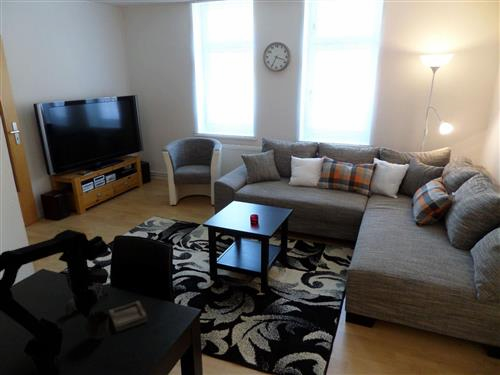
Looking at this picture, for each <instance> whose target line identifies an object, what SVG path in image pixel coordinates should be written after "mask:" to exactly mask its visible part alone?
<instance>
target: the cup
mask: <svg viewBox="0 0 500 375" xmlns="http://www.w3.org/2000/svg"><path fill="white" fill-rule="evenodd" d="M109 316H110V314H109V312H106V313H105V311H104V310H103V311H102V310H99V311H96V310H95V311H94V313H92V312H90V315H89V317H85V319H84V322H83V323H84V324H85V327H86V331H87V334H88V335H89V336H91V337H92V338H93V339H94V340H95V341H100V340H102V339H103V338H105V335H106V333H107V331H108V328H109Z"/></svg>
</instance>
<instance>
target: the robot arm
mask: <svg viewBox="0 0 500 375" xmlns="http://www.w3.org/2000/svg"><path fill="white" fill-rule="evenodd" d="M108 251H109V246H108V245H107V243H106V241H105V240H103V236H100V235H96V236H94V237H93V238H91V239H88V236H87V235H86V233H85V232H82V231H77V230H72V229H65V230H63V231H61V232H58V233H57V234H56V235H55V236H54V237H52V238H51V239H47V240H43V241H39V242H35V243H33V244H29V245H26V246H23V247H19V248H16V249H11V250H4V251H3V252H2V253H0V273H1V272H2V271H3V273H2V275H1V278H0V314H1V315H3V316H4V317H6V318H7V319H8V320H9V321H10V322H12V323H13V324H15V325H16V326H17V327H19V328H20V330H22V331H24V332H25V333H26V337H27V339H28V341H27V344H26V345H25V348H24V349H23V353H24V355H26V357H27V356H28V357H30V358H31V359H32V360H31V361H32V365H33V375H59V374H60V365H59V364H60V363H59V359H58V358H57V356H58V355H60V354H61V349H62V343H63V337H64V333H63V332H62V331H63V328H59V326H58V325H57V324H56V323H55V322H52V321H50V320H48V319H46V318H43V317H41V318H40V319H38V318H37V317H36V316H35V315H33V314H32V313H31V312H30V311H28V309H27V308H25V307H24V306H23V305H22V304H21V303H19V302H18V301H16V300H15V298H14V294H13V291H12V290H11V288H12V287H13V286H14V284H15V282H16V279H17V276H18V273H19V271H20V269H21V268H22V266H24V265H28V264H31V263H33V262H37V261H39V260H43V259H46V258H48V257H51V256H54V255H57V254H61V253H62V254H61V255H60V256H59V258H58V261H61V262H64V263H66V266H67V274H65V278H66V282H67V285H68V287H69V289H70V291H71V292H72V294H73V297H72V298H73V299H74V304H75V307H76V308H78V309H77V310H78V311H79V312H80V313H81V315H83V316H84V318H86V317H87V318H88V317H89V315H91V310H92V304H95V303H97V302H98V301H99V300H98V298H97V295H96V292H95V290H93V289H88V288H89V287H91V286H94V285H93V284H97V283H103V285H105V284H107V282H108V280H109V279H108V278H109V272H108V270H107V269H106V267H103V268H102V264H101V263H95V264H94V265H93V266H92V267H91V268H89V265H88V261H89V262H94V261H95V260H96V259H98V258H100V257H102V256H104V255H105V254H106V255H107V253H108Z"/></svg>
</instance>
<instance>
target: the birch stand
mask: <svg viewBox="0 0 500 375" xmlns="http://www.w3.org/2000/svg"><path fill="white" fill-rule="evenodd" d="M108 313H109V316H110V319H111V322H112V324H113V327H114V329H115V331H116V332H118V333H119V332H122V331H123V330H126V329H128V328H129V329H130V328H132V327H134V326H138V325H140V324H141V325H142V324H143V323H146V322H148V321H149V320H148V315H147V313H146V310H145V309H144V307H143V305H142V304H141V302H140V300H137V301H134V302H133V301H132V302H131V303H127V304H123V305H121V306H118V307H115V308H112V309H109V312H108ZM116 332H115V333H116Z"/></svg>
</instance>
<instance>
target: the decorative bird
mask: <svg viewBox="0 0 500 375" xmlns="http://www.w3.org/2000/svg"><path fill="white" fill-rule="evenodd" d="M103 285H104V284H103V283H95V284H94V285H93V286H90V287H89V286H88V289H93V290H95V292H96V295H97V299H98V298H99V297H100V296H104V297H106V298H107V299H108V292H109V291H108V290H107V291H106V293H105V294H104V289H103V288H102V287H103ZM76 310H78V308H76V307H75V304H74V299H73V297H72V298H70V299H69V300H67V303H66V305H65V312H66V315H67V316H68V317H69V316H70V315H71V314H72V313H74V311H76Z"/></svg>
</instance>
